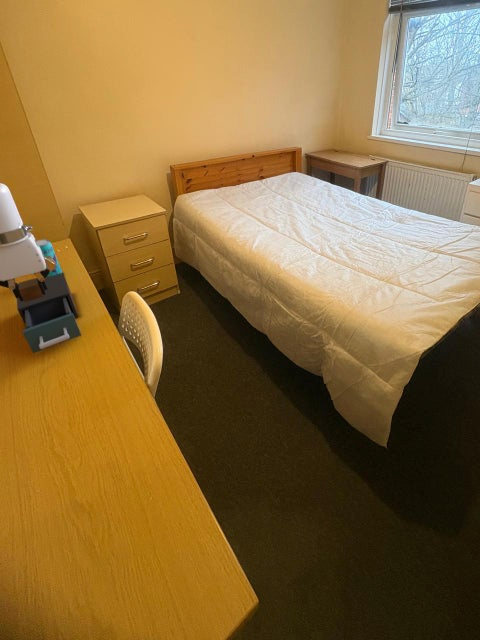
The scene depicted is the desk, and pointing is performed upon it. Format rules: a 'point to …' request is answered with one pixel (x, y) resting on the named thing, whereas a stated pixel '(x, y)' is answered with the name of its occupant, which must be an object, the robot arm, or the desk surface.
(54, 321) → the drawer
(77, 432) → the desk surface
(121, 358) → the desk surface
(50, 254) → the beverage can
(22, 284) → the block
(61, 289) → the cabinet
